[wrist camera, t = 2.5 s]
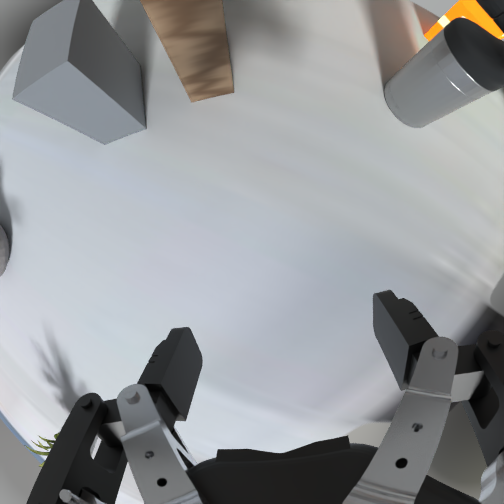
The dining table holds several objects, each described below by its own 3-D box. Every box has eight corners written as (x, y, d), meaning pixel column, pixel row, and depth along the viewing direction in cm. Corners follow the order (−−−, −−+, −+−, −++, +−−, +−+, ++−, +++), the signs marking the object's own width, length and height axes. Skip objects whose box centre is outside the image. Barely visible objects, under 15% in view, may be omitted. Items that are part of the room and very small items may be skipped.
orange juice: (451, 69, 32) (511, 28, 12) (423, 35, 31) (473, -15, 11) (466, 63, 31) (520, 27, 11) (440, 31, 30) (487, -12, 11)
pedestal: (140, 65, 32) (83, -12, 12) (146, 128, 33) (67, 60, 13) (102, 82, 32) (32, 21, 12) (104, 144, 33) (12, 99, 13)
